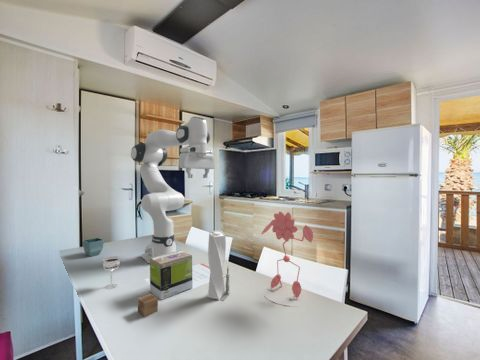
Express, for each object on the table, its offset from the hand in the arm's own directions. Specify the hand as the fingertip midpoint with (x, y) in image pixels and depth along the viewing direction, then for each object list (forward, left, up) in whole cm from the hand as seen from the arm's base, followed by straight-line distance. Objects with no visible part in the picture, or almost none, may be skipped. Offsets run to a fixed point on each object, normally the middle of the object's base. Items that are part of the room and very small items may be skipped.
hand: (197, 178), depth 120 cm
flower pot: (-68, -25, -48) cm, 87 cm away
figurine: (+42, +11, -48) cm, 65 cm away
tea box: (+5, -18, -48) cm, 52 cm away
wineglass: (-17, -34, -48) cm, 61 cm away
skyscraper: (+23, -8, -48) cm, 54 cm away
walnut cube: (+13, -33, -48) cm, 60 cm away
